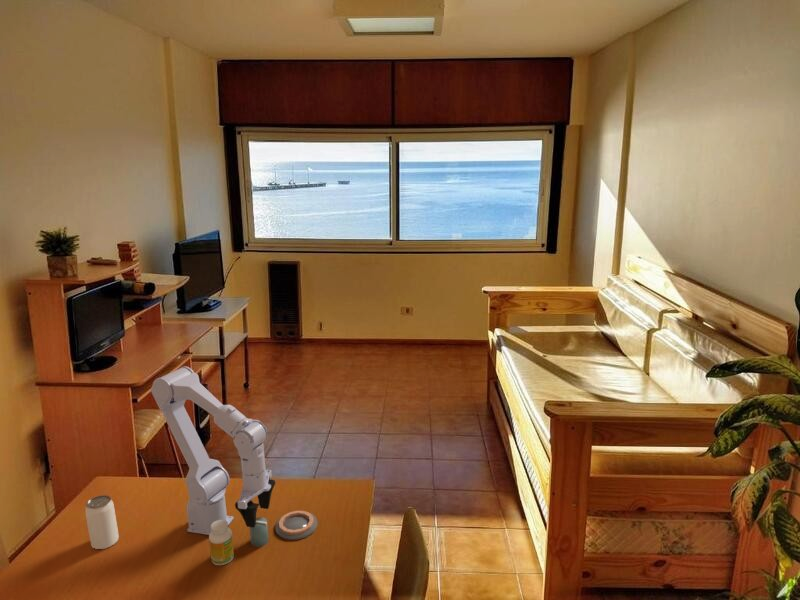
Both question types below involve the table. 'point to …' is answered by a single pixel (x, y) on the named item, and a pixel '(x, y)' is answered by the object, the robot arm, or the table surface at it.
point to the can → (101, 522)
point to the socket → (296, 525)
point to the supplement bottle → (221, 543)
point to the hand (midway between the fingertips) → (257, 516)
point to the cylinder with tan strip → (259, 532)
